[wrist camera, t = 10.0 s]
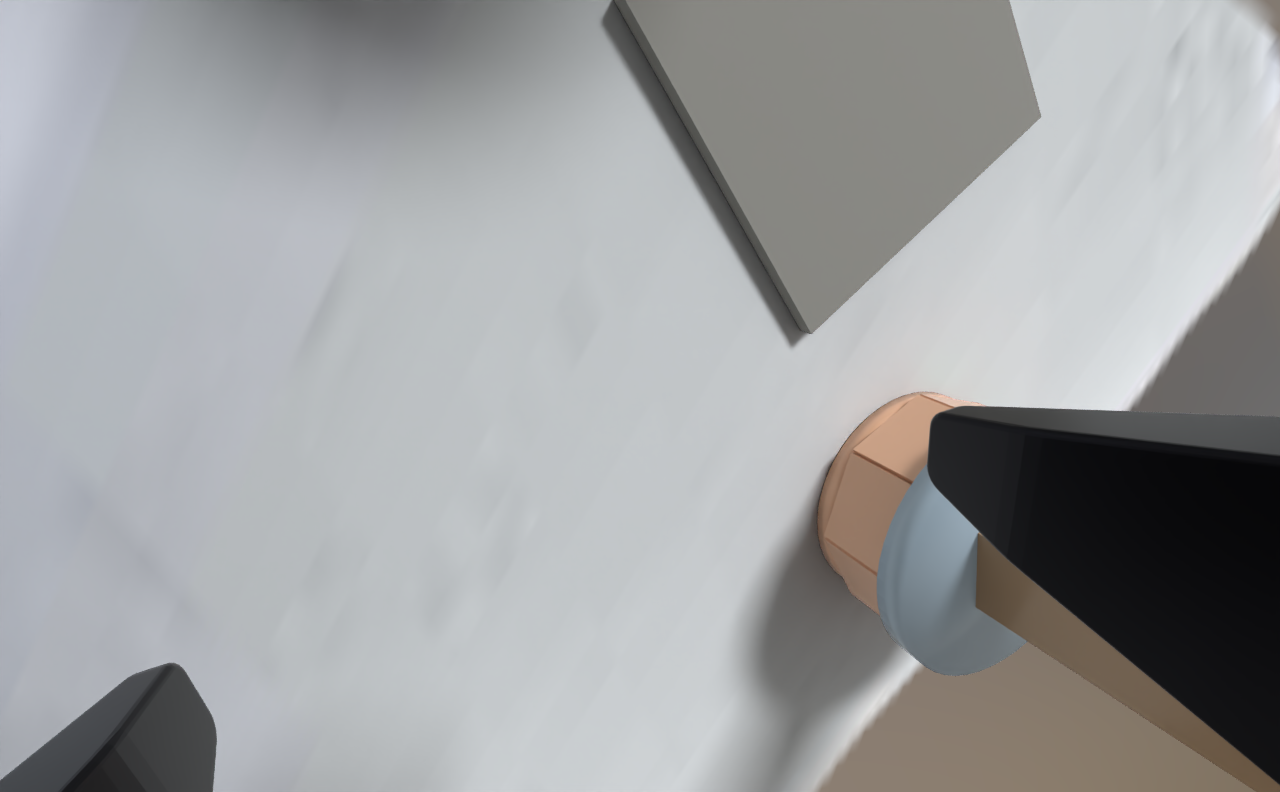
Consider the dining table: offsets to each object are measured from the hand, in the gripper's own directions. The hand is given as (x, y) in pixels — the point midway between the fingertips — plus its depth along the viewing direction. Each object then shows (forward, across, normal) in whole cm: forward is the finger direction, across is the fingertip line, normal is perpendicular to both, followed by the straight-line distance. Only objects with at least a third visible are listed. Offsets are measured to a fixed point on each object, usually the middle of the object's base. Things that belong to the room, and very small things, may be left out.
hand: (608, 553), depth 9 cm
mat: (+15, +14, +3) cm, 20 cm away
